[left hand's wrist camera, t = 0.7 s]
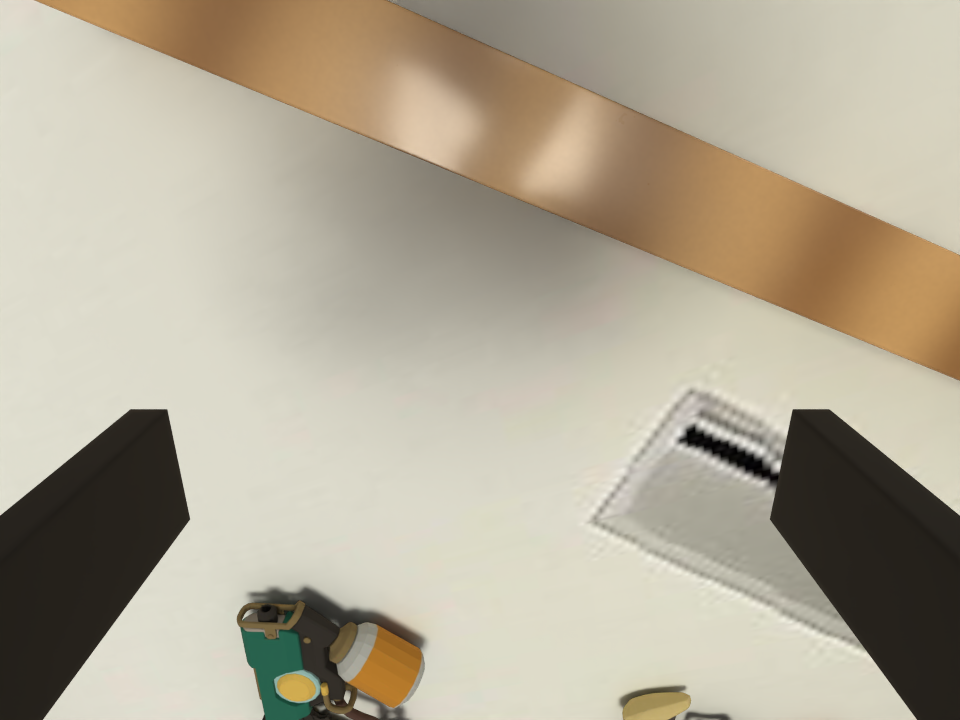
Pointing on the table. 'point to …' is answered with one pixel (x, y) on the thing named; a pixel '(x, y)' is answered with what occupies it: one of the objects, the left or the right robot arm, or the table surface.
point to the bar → (567, 156)
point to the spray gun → (324, 662)
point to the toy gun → (656, 706)
